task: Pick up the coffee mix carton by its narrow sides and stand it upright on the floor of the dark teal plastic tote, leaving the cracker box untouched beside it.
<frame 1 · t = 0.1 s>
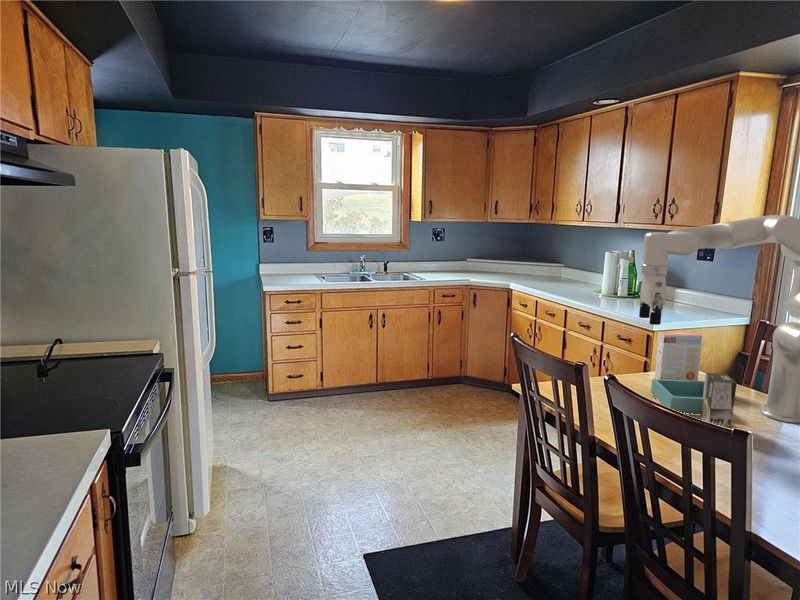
hand: (649, 321, 165), 31 cm above the table, tool pointing down, fingers open, 9 cm apart
cracker box: (674, 385, 193), on the table
coffee box: (714, 425, 158), on the table
tote: (686, 405, 173), on the table
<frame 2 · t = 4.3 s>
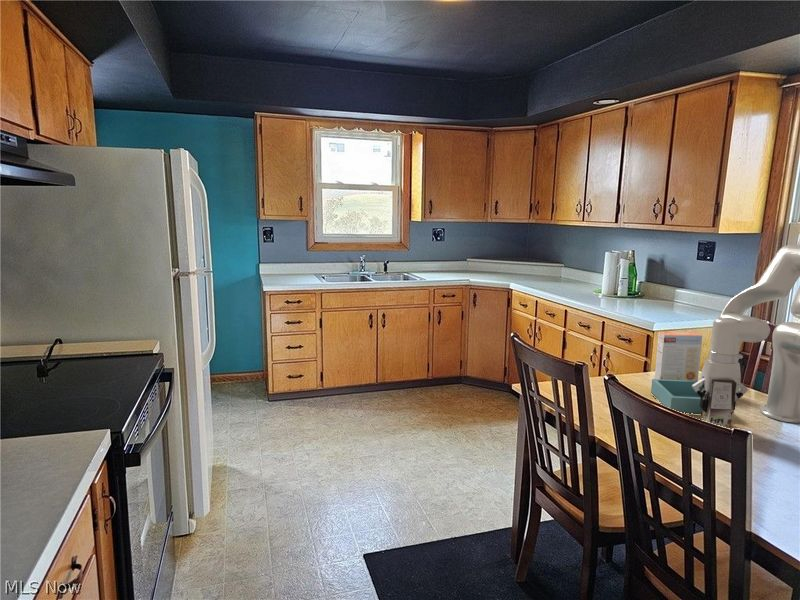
hand: (716, 410, 157), 5 cm above the table, tool pointing down, fingers closed on coffee box, 7 cm apart
coffee box: (714, 425, 158), on the table, touching gripper
everything else where it was.
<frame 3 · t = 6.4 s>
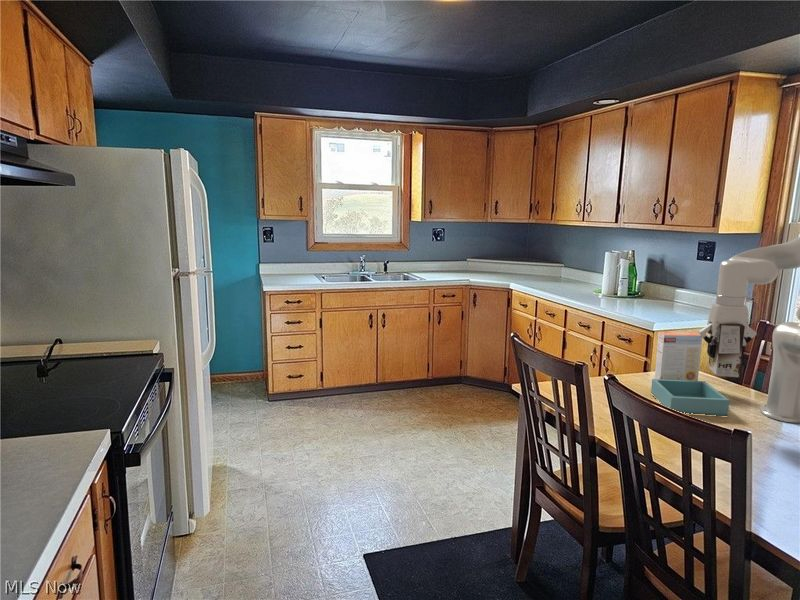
hand: (724, 356, 153), 23 cm above the table, tool pointing down, fingers closed on coffee box, 7 cm apart
coffee box: (722, 372, 154), point 18 cm above the table, touching gripper
everything else where it was.
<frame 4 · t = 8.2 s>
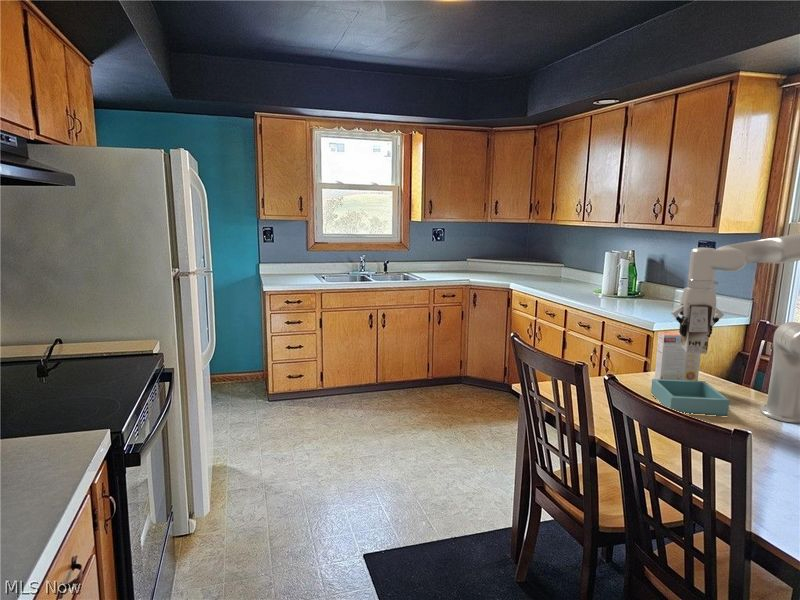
hand: (694, 335, 168), 25 cm above the table, tool pointing down, fingers closed on coffee box, 7 cm apart
coffee box: (693, 350, 169), point 20 cm above the table, touching gripper
everything else where it was.
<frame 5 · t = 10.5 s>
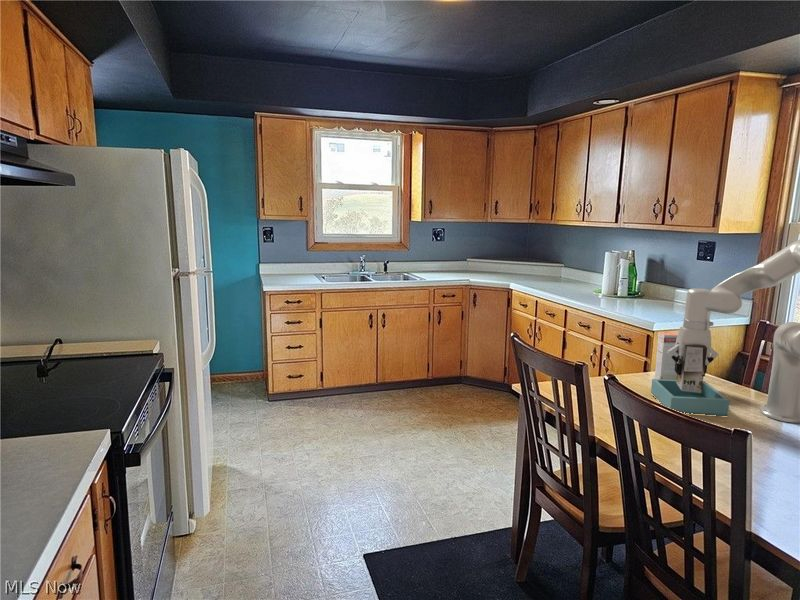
hand: (689, 374, 171), 11 cm above the table, tool pointing down, fingers closed on coffee box, 7 cm apart
coffee box: (688, 388, 172), point 6 cm above the table, touching gripper
everything else where it was.
when the fingers open (7 cm above the table, at t = 12.5 s): coffee box stays where it is, resting on tote.
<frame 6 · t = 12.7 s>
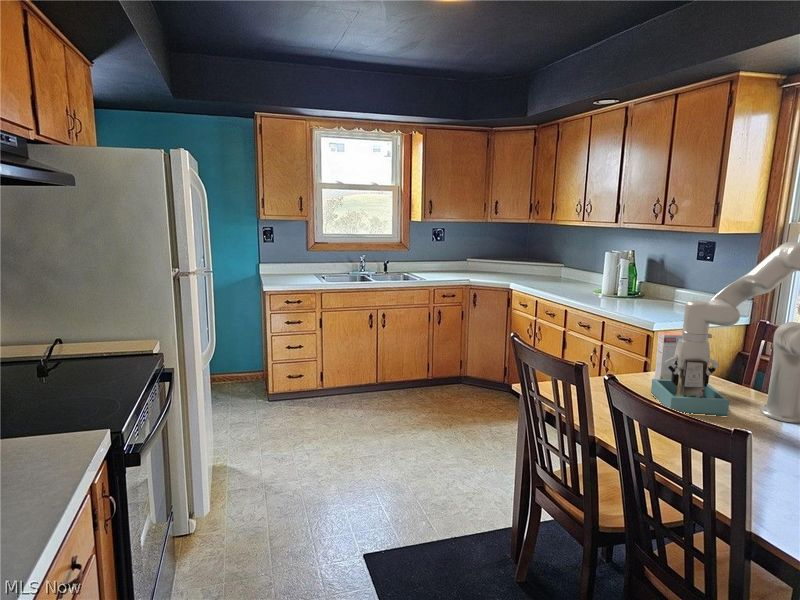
hand: (689, 384, 172), 8 cm above the table, tool pointing down, fingers open, 9 cm apart
coffee box: (688, 402, 173), point 1 cm above the table, touching tote
everything else where it was.
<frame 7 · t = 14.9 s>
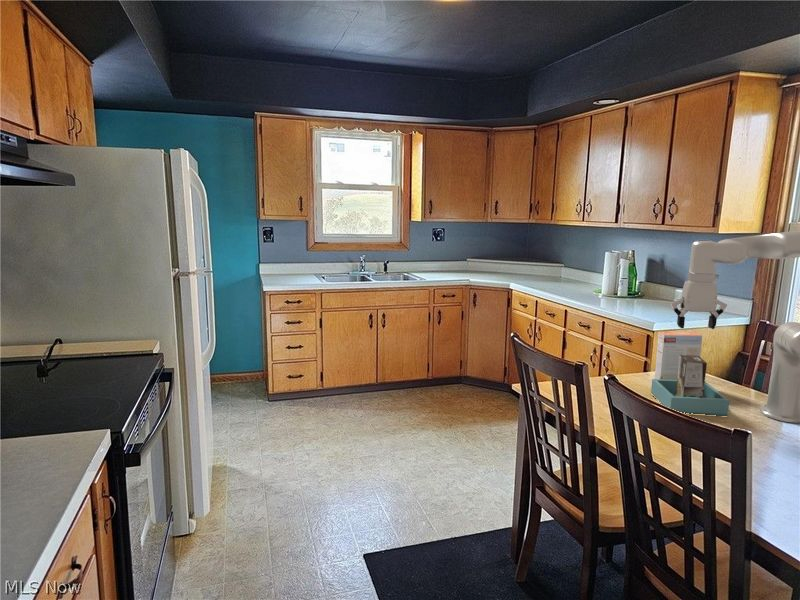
hand: (695, 327, 168), 28 cm above the table, tool pointing down, fingers open, 9 cm apart
nothing on the table moved.
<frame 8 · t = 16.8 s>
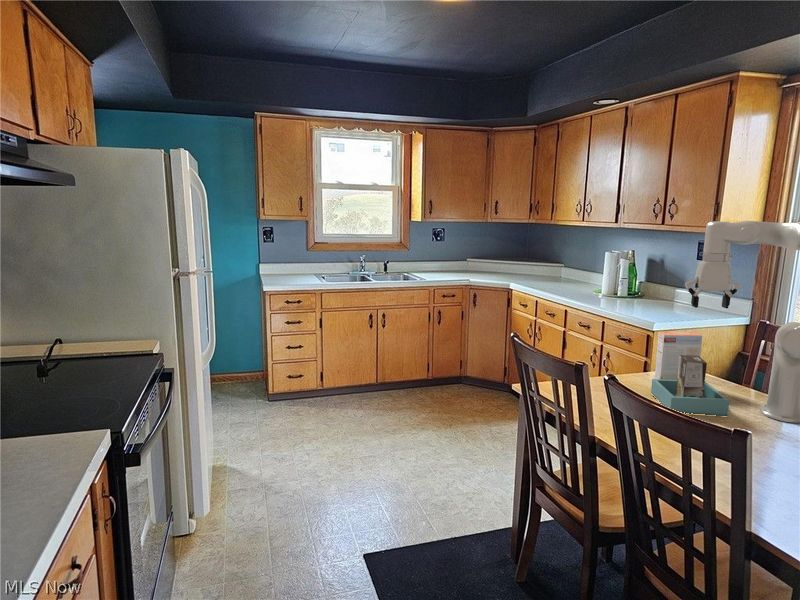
hand: (709, 307, 171), 34 cm above the table, tool pointing down, fingers open, 9 cm apart
nothing on the table moved.
at the end: coffee box inside the target area on the tote (0.3 cm from its centre), point 0.8 cm above the tote's base; coffee box tilted 0°; the gripper is holding nothing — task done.
